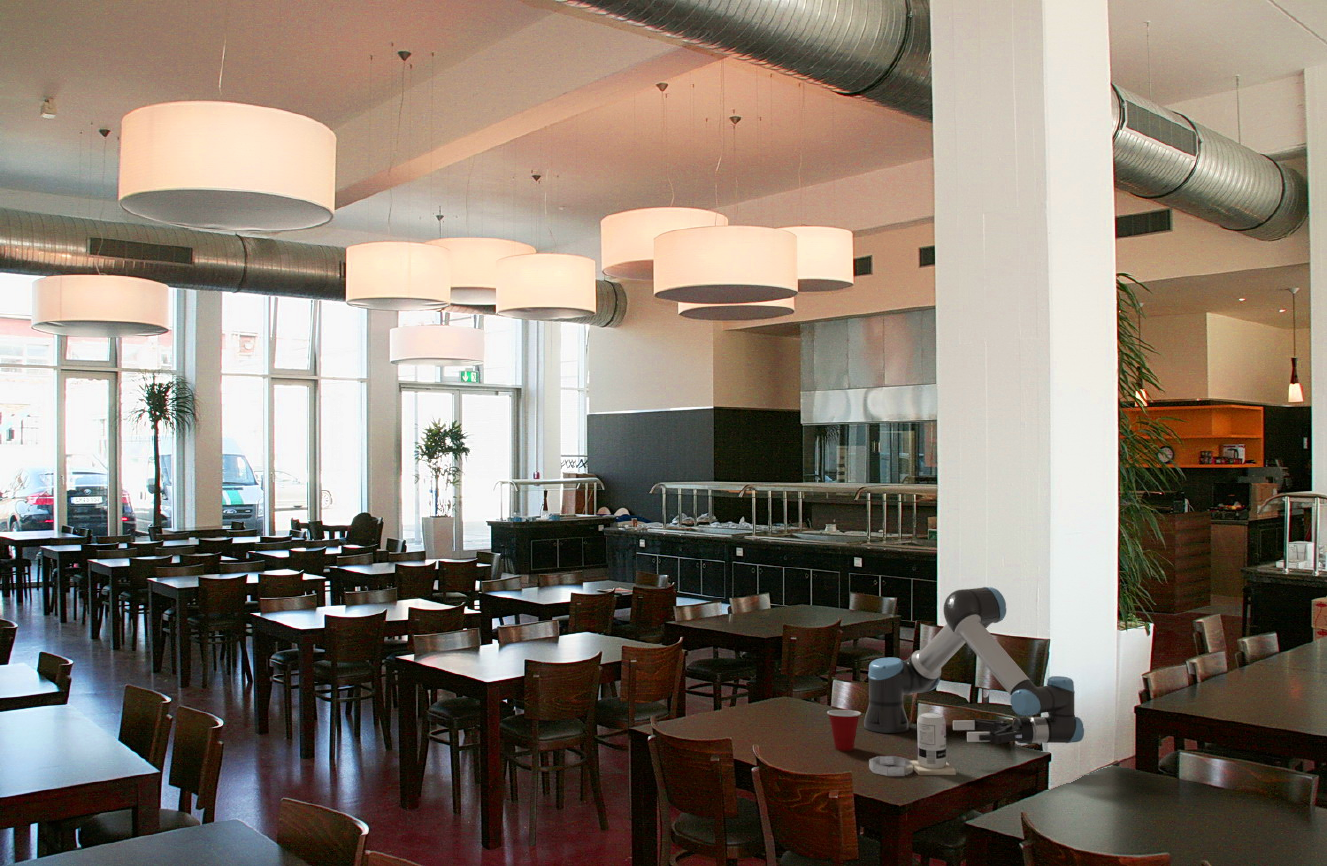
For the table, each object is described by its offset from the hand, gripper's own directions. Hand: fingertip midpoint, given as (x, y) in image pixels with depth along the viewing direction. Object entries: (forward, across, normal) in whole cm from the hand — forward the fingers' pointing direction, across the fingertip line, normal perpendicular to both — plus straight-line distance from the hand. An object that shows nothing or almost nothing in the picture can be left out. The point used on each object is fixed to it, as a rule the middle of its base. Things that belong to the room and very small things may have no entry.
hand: (960, 731), depth 314 cm
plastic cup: (+30, +24, -12) cm, 40 cm away
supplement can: (+9, 0, -10) cm, 13 cm away
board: (+9, 0, -11) cm, 14 cm away
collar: (+21, 0, -11) cm, 24 cm away
